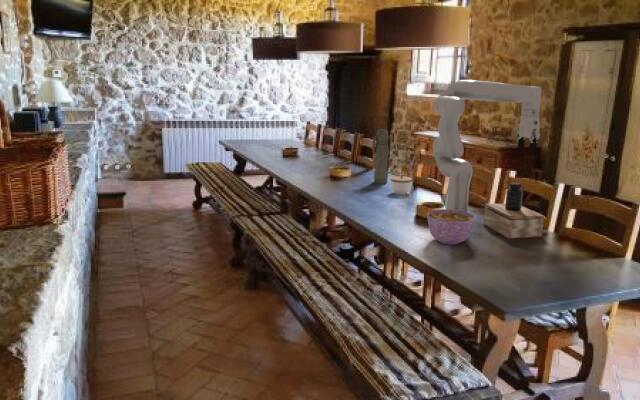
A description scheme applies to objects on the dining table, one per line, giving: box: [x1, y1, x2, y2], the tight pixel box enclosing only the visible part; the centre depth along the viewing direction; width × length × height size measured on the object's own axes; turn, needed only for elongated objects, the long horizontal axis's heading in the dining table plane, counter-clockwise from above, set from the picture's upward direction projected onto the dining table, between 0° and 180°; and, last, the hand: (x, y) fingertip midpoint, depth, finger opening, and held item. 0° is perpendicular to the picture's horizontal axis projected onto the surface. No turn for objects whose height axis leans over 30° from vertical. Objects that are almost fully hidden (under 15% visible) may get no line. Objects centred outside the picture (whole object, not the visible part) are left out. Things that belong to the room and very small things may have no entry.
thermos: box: [372, 128, 392, 185], centre depth 327 cm, size 9×12×35 cm
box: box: [483, 207, 544, 239], centre depth 229 cm, size 16×22×8 cm
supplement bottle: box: [504, 182, 524, 211], centre depth 226 cm, size 7×7×12 cm
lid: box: [484, 203, 545, 219], centre depth 227 cm, size 16×22×1 cm
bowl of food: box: [426, 208, 477, 245], centre depth 212 cm, size 20×20×12 cm
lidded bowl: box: [390, 174, 413, 196], centre depth 300 cm, size 13×13×11 cm
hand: (526, 149), depth 238 cm, fingers open, 9 cm apart
